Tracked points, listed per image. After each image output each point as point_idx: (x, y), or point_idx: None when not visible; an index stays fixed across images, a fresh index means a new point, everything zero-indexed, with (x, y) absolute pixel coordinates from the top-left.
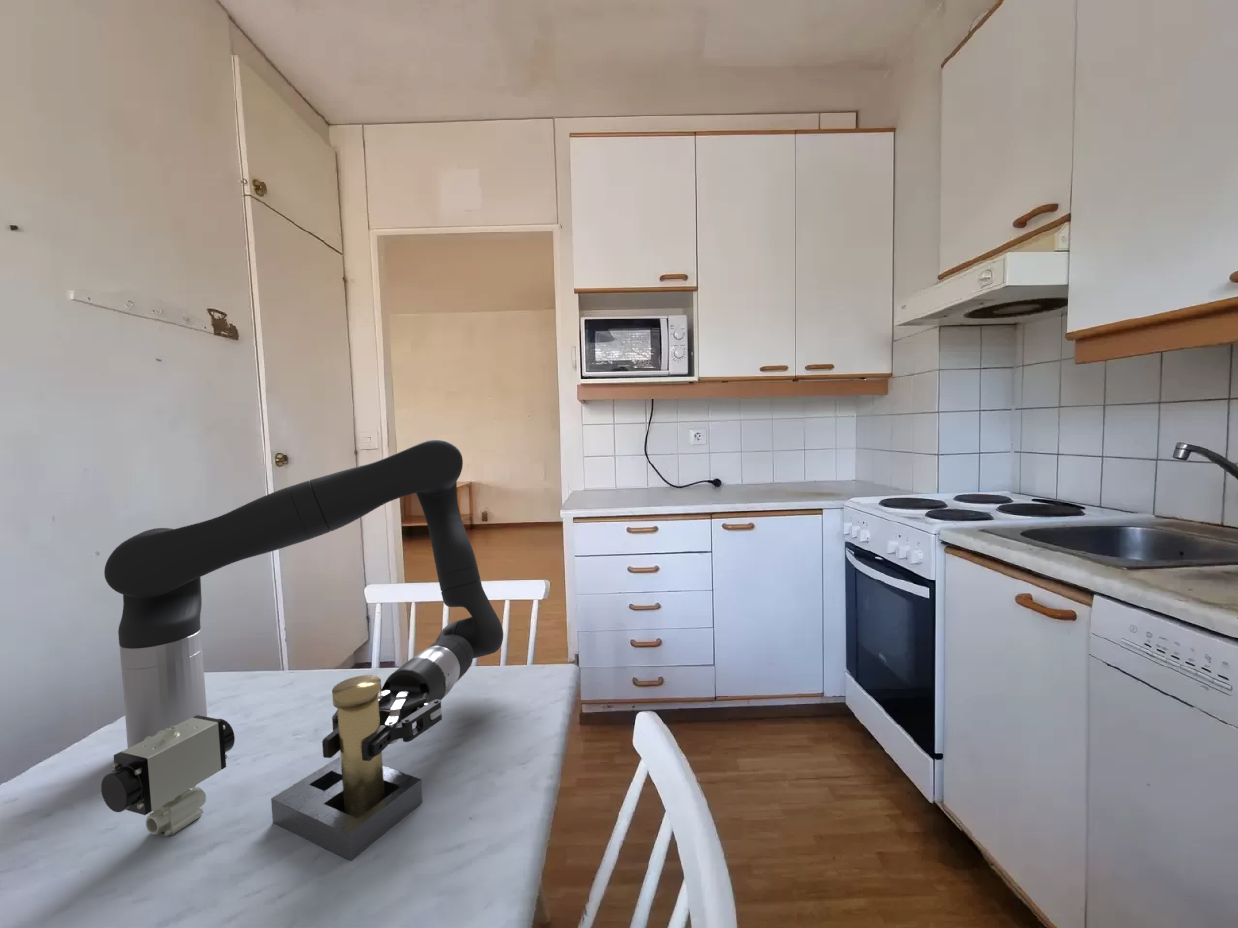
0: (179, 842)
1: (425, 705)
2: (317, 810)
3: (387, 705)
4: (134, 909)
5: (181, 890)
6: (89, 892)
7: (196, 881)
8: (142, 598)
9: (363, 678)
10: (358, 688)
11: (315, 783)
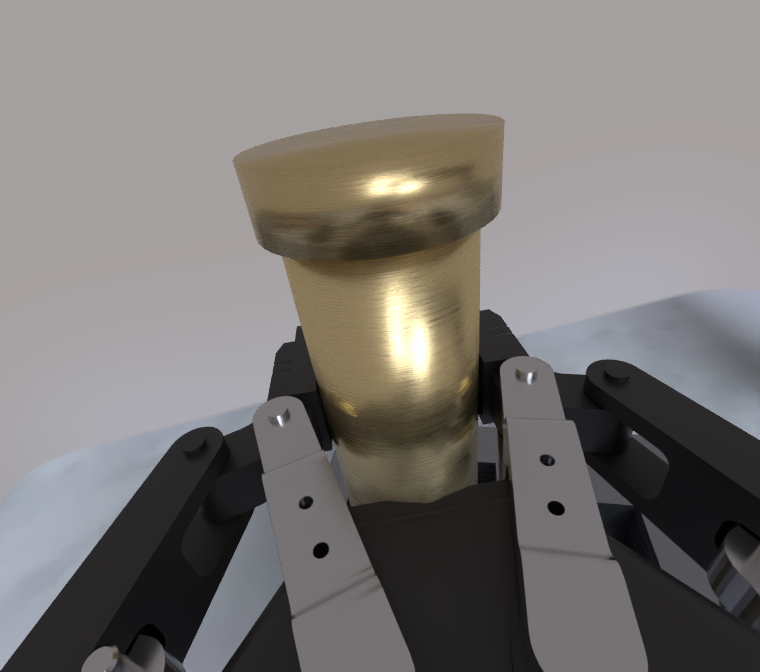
0: (737, 391)
1: (99, 637)
2: (484, 444)
3: (438, 554)
4: (587, 327)
5: (570, 353)
6: (690, 319)
7: (572, 365)
8: None
9: (396, 147)
10: (329, 137)
11: (642, 533)
